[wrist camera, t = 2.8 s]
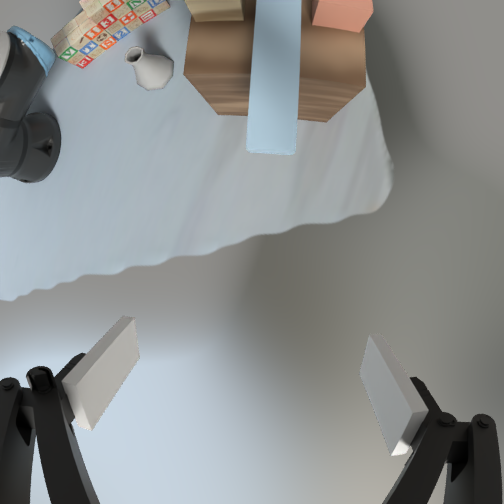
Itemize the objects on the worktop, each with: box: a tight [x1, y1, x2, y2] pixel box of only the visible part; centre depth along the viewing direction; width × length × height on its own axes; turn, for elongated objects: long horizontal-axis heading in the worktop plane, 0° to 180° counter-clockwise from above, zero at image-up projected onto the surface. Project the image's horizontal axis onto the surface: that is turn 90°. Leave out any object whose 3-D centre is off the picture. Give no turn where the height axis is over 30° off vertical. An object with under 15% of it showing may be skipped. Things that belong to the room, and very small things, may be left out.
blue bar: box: [246, 0, 301, 155], centre depth 23 cm, size 22×4×4 cm, turn 176°
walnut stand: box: [183, 0, 366, 122], centre depth 35 cm, size 14×18×22 cm
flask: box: [125, 46, 174, 91], centre depth 41 cm, size 7×7×10 cm
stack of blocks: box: [51, 0, 170, 69], centre depth 37 cm, size 21×6×12 cm, turn 120°
